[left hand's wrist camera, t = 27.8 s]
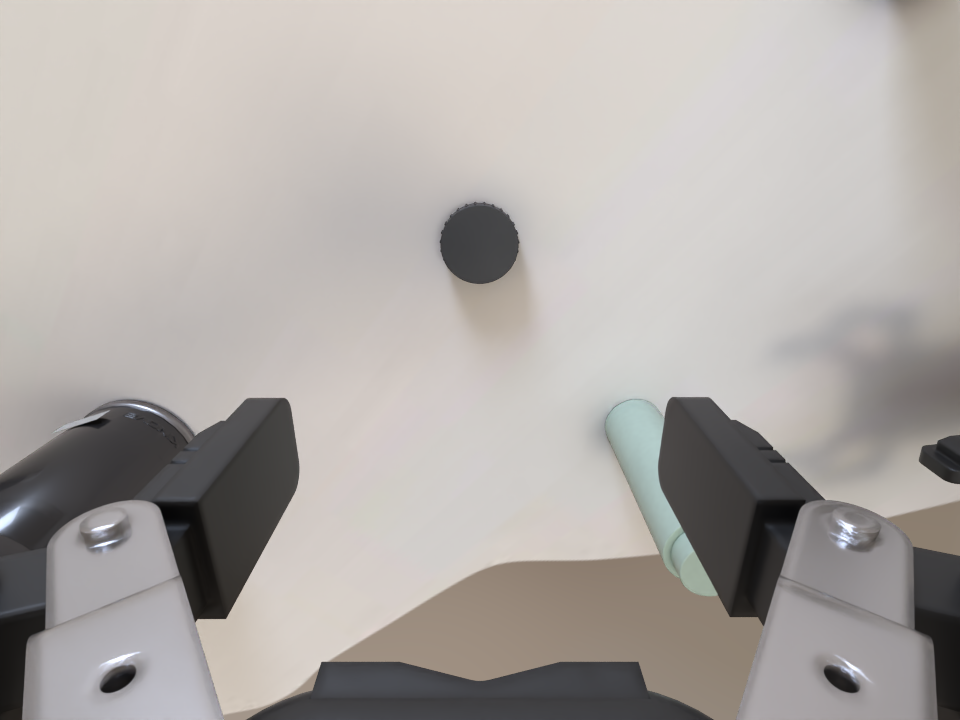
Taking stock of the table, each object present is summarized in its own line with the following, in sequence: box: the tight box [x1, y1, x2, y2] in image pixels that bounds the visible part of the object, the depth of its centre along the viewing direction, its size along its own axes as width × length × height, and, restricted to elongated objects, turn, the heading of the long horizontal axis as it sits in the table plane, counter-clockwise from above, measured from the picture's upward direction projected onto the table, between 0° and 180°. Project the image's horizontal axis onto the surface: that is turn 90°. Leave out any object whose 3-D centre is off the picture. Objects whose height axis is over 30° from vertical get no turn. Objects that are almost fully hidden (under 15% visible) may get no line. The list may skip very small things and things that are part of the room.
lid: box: [440, 202, 519, 284], centre depth 35 cm, size 5×5×2 cm
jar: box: [605, 399, 718, 596], centre depth 33 cm, size 4×4×15 cm
